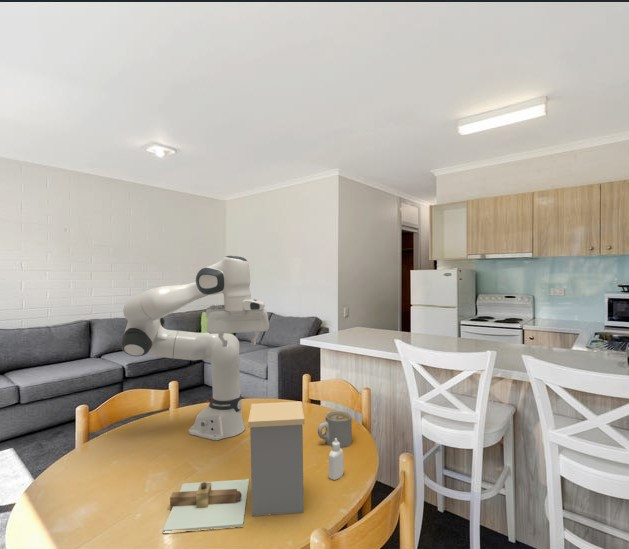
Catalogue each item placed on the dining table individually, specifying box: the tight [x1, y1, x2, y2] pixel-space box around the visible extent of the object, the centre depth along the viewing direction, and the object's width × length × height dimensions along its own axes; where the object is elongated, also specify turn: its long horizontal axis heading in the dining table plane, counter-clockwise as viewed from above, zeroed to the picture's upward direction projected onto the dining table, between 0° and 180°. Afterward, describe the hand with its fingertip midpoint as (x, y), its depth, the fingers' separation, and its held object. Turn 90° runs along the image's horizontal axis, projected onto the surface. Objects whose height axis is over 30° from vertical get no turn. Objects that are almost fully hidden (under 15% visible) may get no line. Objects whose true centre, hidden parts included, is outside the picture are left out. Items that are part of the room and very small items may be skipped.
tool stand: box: [247, 400, 305, 517], centre depth 105 cm, size 15×13×26 cm
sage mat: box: [162, 478, 250, 533], centre depth 103 cm, size 20×20×1 cm
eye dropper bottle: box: [328, 438, 345, 481], centre depth 117 cm, size 4×6×12 cm
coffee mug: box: [317, 410, 353, 449], centre depth 140 cm, size 13×10×10 cm
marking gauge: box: [169, 481, 242, 508], centre depth 104 cm, size 20×5×5 cm, turn 94°
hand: (239, 345), depth 122 cm, fingers open, 8 cm apart
